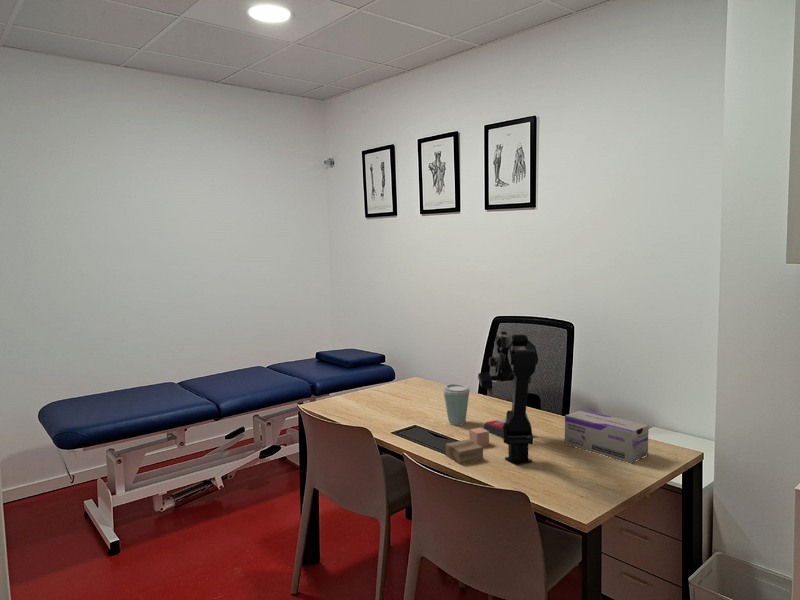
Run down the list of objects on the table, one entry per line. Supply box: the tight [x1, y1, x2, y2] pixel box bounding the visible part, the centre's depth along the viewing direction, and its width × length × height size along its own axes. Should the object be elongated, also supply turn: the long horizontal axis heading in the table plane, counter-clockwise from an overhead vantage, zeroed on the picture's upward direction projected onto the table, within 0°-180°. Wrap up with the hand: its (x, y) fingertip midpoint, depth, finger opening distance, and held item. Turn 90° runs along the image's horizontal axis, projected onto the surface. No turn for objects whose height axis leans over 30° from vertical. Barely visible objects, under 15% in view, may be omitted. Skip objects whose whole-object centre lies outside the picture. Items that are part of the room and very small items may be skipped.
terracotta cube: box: [468, 427, 490, 447], centre depth 209 cm, size 5×5×5 cm
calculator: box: [483, 417, 533, 440], centre depth 221 cm, size 11×4×15 cm
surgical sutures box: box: [564, 409, 649, 464], centre depth 201 cm, size 25×11×11 cm, turn 39°
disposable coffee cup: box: [442, 383, 471, 426], centre depth 234 cm, size 11×11×15 cm
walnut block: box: [445, 439, 484, 465], centre depth 196 cm, size 9×9×4 cm
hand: (502, 394), depth 222 cm, fingers open, 9 cm apart
